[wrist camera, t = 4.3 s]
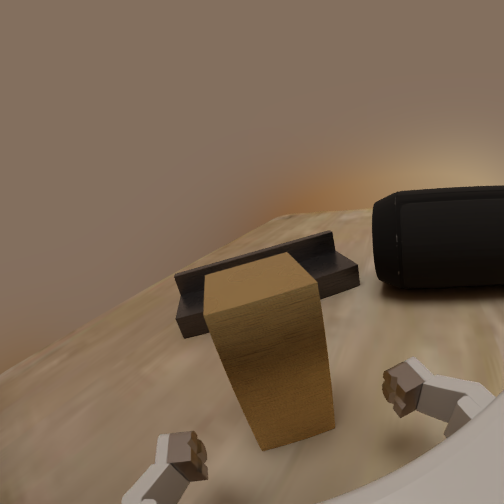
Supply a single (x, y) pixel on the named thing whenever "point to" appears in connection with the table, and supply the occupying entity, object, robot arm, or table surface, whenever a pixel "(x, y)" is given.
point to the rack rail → (302, 250)
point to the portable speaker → (440, 237)
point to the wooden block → (272, 347)
